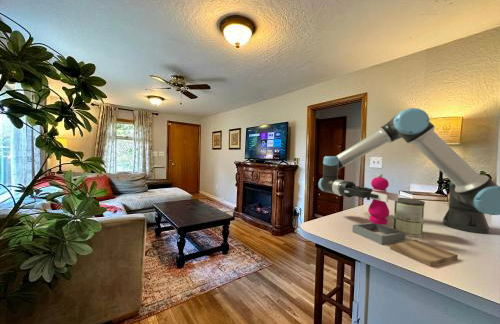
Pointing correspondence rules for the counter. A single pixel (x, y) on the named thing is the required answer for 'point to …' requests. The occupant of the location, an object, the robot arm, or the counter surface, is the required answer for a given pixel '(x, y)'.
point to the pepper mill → (379, 202)
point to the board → (424, 252)
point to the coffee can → (409, 216)
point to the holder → (390, 236)
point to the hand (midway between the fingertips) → (392, 198)
